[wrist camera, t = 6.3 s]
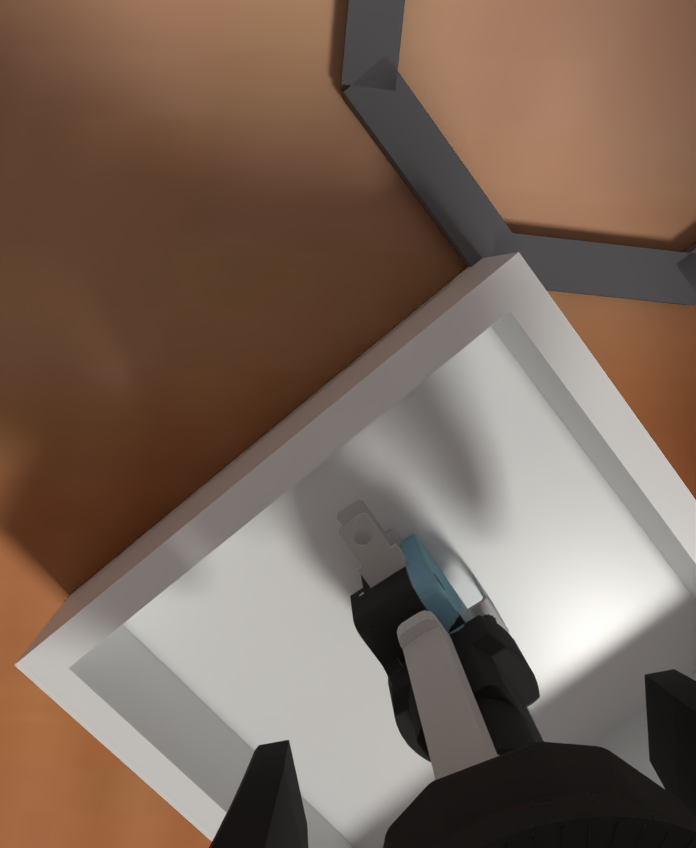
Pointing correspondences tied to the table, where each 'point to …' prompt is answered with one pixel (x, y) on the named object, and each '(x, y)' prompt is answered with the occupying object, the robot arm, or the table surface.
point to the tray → (406, 515)
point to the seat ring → (461, 195)
